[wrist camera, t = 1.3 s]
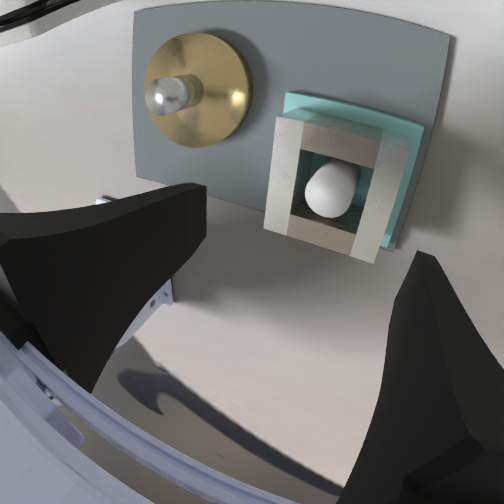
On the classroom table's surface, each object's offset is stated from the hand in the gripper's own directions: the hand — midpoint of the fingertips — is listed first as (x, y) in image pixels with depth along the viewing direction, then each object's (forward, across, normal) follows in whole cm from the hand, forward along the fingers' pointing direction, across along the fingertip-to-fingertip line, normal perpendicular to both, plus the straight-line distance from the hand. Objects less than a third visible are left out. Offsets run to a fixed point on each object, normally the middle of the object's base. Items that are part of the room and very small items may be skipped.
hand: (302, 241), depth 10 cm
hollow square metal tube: (+7, 0, 0) cm, 7 cm away
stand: (+8, 0, 0) cm, 8 cm away
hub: (+8, +9, -3) cm, 12 cm away
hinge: (+9, +24, -12) cm, 29 cm away
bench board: (+8, +5, -2) cm, 10 cm away
